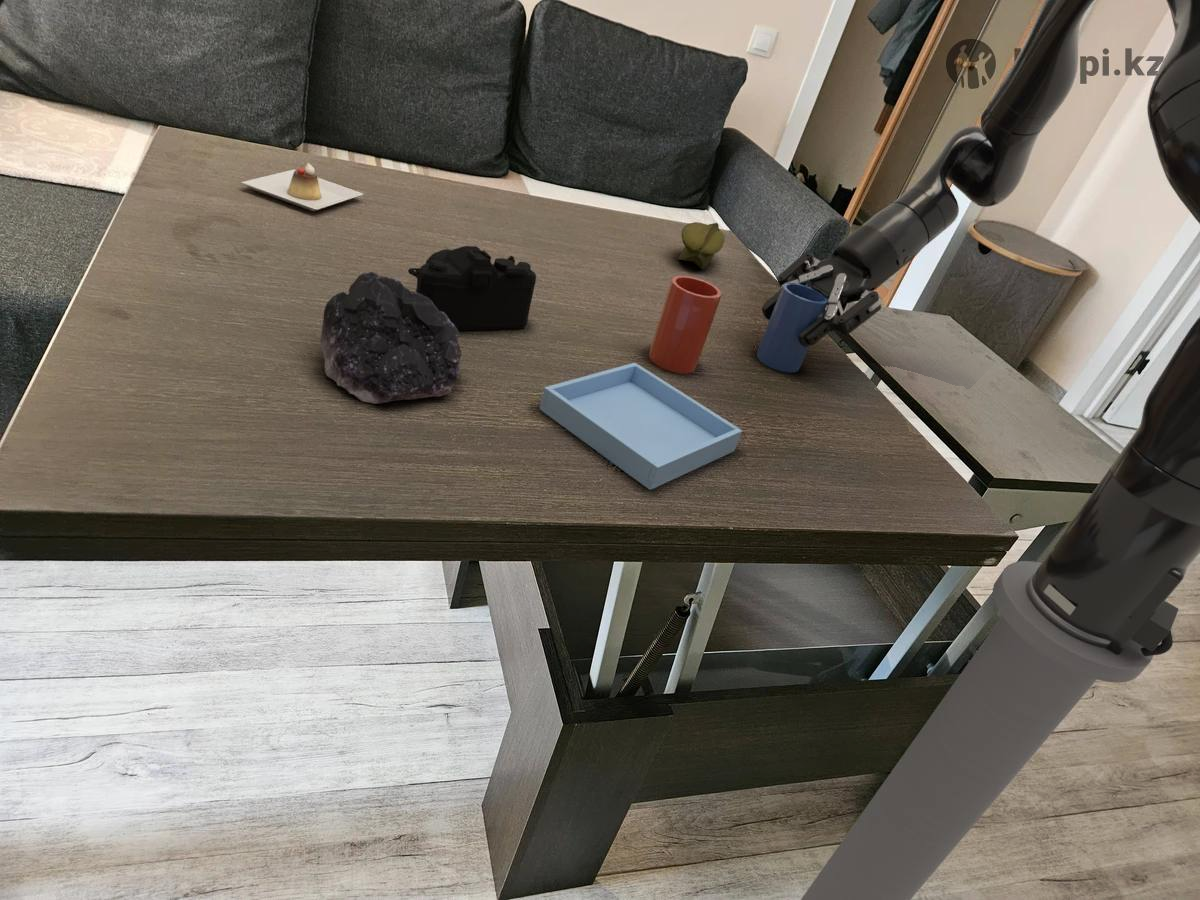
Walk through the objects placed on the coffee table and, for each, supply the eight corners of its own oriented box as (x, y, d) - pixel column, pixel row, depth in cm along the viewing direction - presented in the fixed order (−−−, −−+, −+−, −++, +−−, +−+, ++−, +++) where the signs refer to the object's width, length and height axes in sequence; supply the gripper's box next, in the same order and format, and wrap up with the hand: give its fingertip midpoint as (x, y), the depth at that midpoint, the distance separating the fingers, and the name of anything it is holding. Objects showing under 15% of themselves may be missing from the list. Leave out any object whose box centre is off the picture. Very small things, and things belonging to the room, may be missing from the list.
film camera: (501, 296, 102) (514, 228, 97) (535, 331, 95) (550, 260, 91) (385, 296, 93) (393, 222, 89) (414, 334, 87) (424, 257, 82)
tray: (734, 451, 83) (742, 430, 81) (649, 490, 73) (657, 467, 71) (629, 382, 90) (635, 362, 89) (539, 409, 80) (544, 387, 79)
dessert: (240, 190, 110) (240, 155, 108) (293, 176, 120) (295, 144, 118) (316, 217, 109) (318, 182, 106) (363, 201, 119) (366, 169, 116)
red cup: (704, 368, 98) (731, 294, 93) (675, 377, 94) (701, 300, 89) (668, 346, 101) (692, 273, 96) (639, 354, 97) (661, 278, 92)
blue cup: (807, 368, 107) (836, 299, 101) (784, 376, 102) (814, 305, 97) (771, 347, 110) (797, 280, 104) (747, 355, 105) (774, 285, 100)
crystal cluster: (463, 422, 76) (488, 326, 72) (314, 401, 71) (332, 296, 66) (446, 364, 87) (467, 278, 82) (316, 342, 81) (331, 249, 77)
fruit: (652, 246, 135) (663, 208, 132) (709, 251, 141) (721, 215, 138) (685, 273, 127) (697, 234, 124) (744, 278, 133) (757, 240, 129)
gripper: (837, 205, 105) (741, 285, 105) (918, 248, 95) (811, 336, 95) (849, 246, 110) (757, 321, 110) (926, 290, 100) (825, 373, 101)
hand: (782, 328), depth 103 cm, fingers open, 7 cm apart
